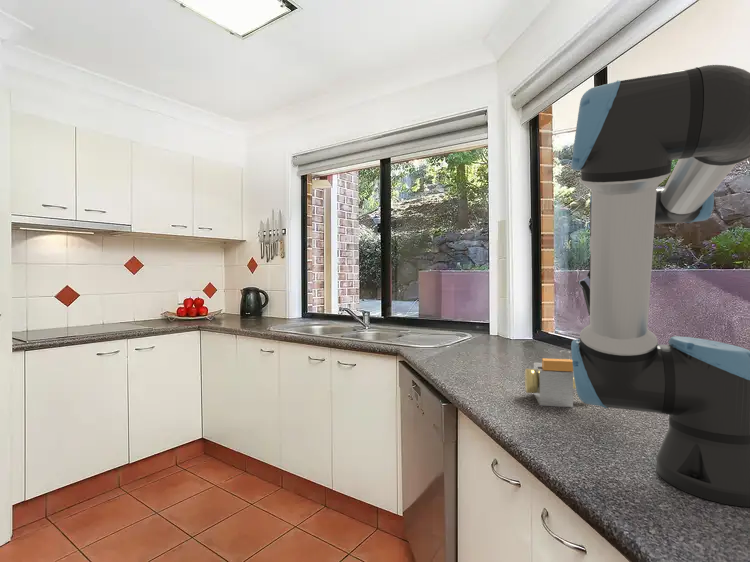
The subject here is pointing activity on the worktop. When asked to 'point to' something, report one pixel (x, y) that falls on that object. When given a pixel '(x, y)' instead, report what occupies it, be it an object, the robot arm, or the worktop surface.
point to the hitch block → (554, 387)
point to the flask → (565, 356)
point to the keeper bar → (557, 364)
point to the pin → (534, 381)
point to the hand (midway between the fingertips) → (605, 345)
